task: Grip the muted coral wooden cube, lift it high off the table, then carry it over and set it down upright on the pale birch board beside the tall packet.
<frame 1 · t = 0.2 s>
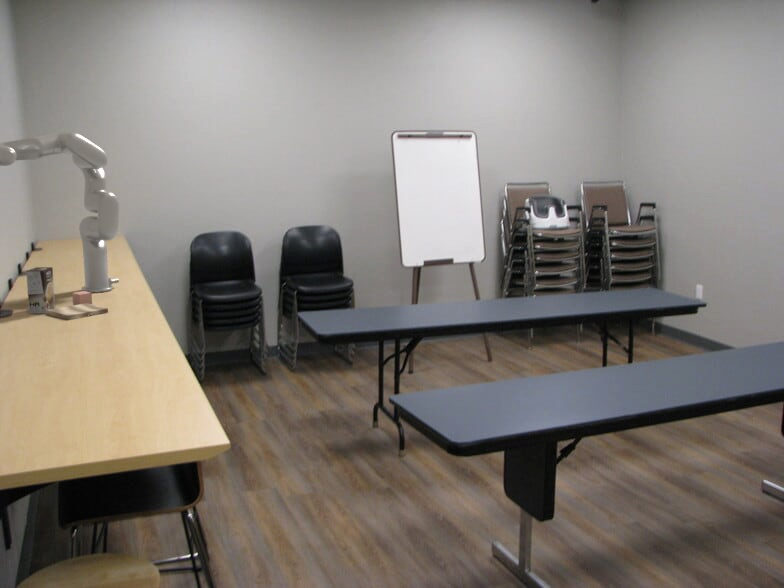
birch board: (77, 313, 274), on the table
coffee box: (42, 311, 276), on the table
coral cube: (82, 305, 288), on the table
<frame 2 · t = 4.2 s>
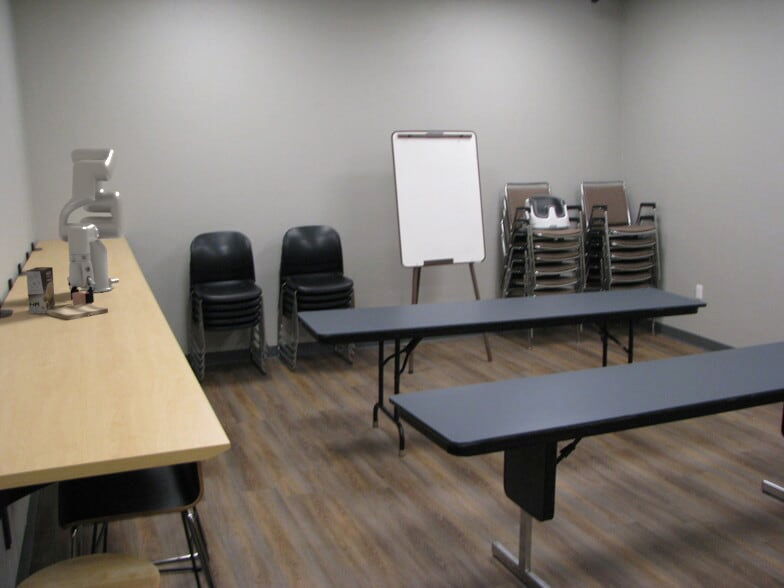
hand: (82, 301, 287), 2 cm above the table, tool pointing down, fingers open, 9 cm apart
nothing on the table moved.
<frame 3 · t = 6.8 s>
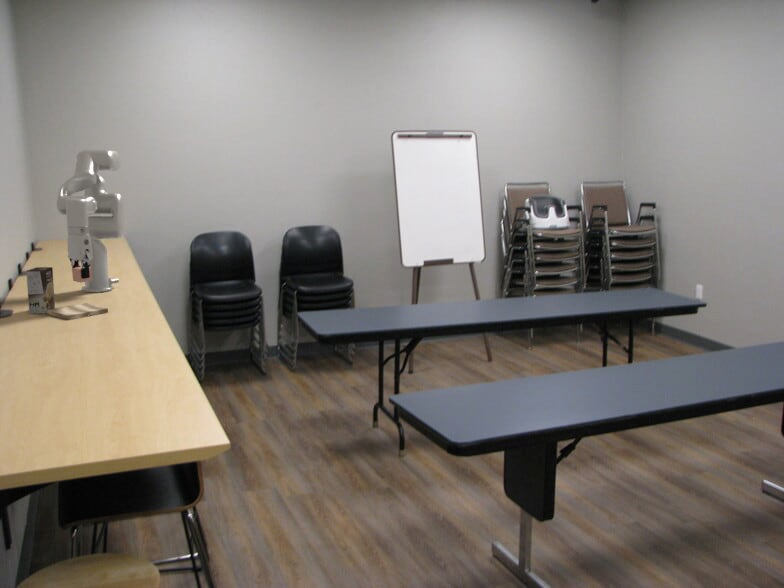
hand: (81, 276, 286), 11 cm above the table, tool pointing down, fingers closed on coral cube, 5 cm apart
coral cube: (82, 280, 287), point 10 cm above the table, touching gripper
everything else where it was.
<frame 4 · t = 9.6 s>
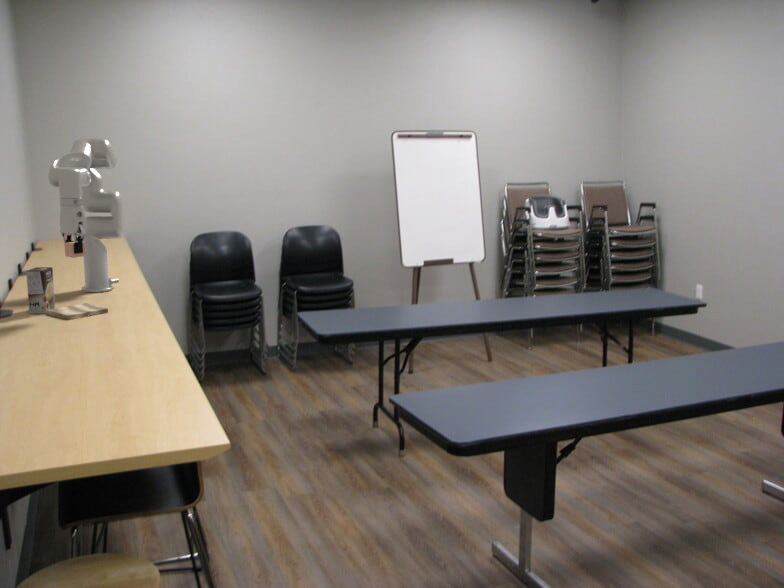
hand: (74, 252, 270), 23 cm above the table, tool pointing down, fingers closed on coral cube, 5 cm apart
coral cube: (75, 256, 271), point 21 cm above the table, touching gripper
everything else where it was.
when the fingers open (4 cm above the table, at t = 14.1 s): coral cube stays where it is, resting on birch board.
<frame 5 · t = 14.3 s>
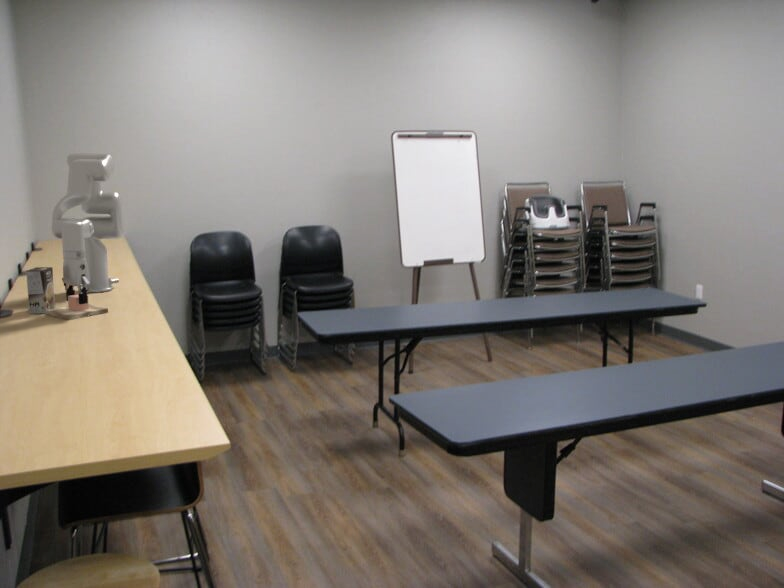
hand: (77, 301, 273), 4 cm above the table, tool pointing down, fingers open, 7 cm apart
coral cube: (78, 308, 274), point 1 cm above the table, touching birch board
everything else where it was.
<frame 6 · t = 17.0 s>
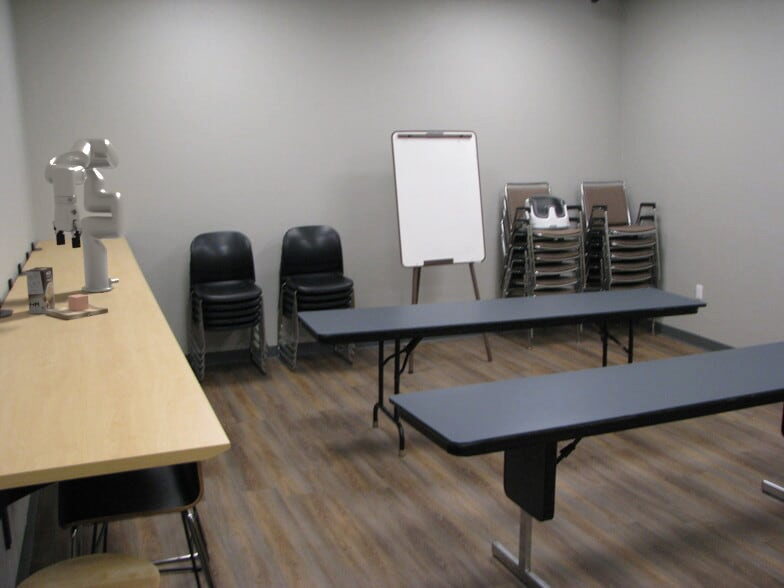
hand: (68, 246, 275), 24 cm above the table, tool pointing down, fingers open, 9 cm apart
nothing on the table moved.
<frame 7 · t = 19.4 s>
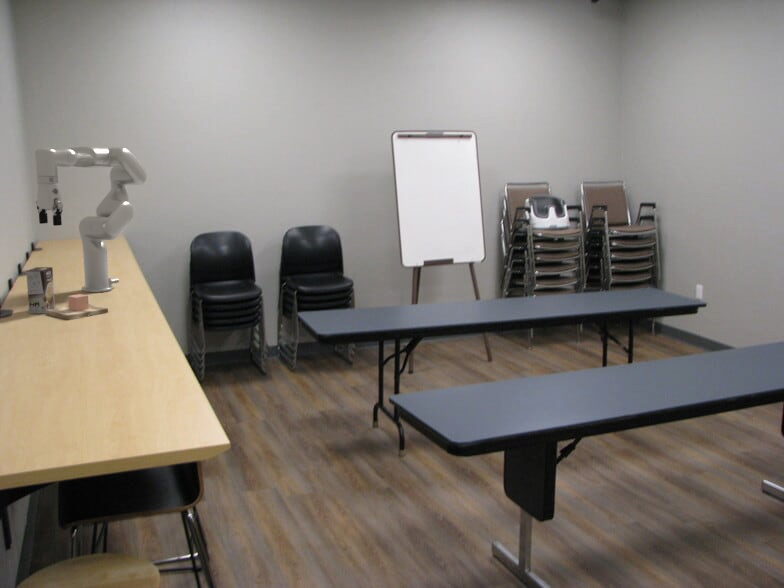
hand: (50, 224, 290), 30 cm above the table, tool pointing down, fingers open, 9 cm apart
nothing on the table moved.
at the end: coral cube inside the target area on the birch board (0.5 cm from its centre), point 1.5 cm above the birch board's base; coral cube tilted 0°; the gripper is holding nothing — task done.
